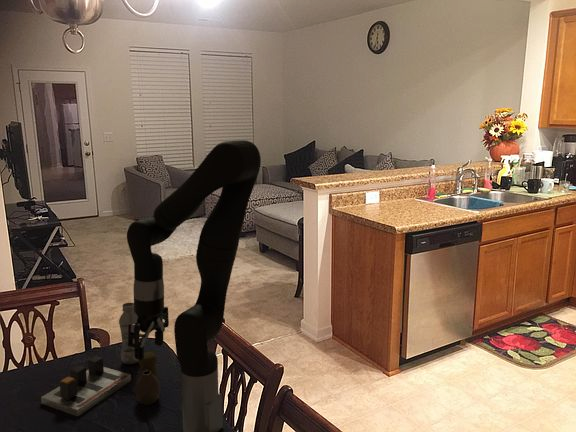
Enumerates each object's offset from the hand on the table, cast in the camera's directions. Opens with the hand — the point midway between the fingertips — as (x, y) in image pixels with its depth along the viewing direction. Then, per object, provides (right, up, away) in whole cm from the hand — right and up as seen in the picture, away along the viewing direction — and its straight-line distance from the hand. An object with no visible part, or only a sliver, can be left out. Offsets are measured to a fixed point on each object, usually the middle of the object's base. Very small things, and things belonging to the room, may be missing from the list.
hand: (149, 351), depth 126 cm
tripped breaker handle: (-25, -14, +7) cm, 30 cm away
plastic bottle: (-15, -12, +31) cm, 36 cm away
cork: (-5, -16, +15) cm, 22 cm away
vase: (-3, -17, +9) cm, 19 cm away
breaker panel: (-22, -16, +14) cm, 30 cm away
